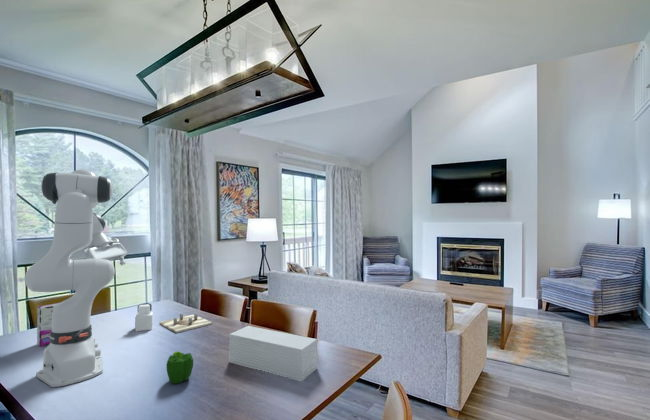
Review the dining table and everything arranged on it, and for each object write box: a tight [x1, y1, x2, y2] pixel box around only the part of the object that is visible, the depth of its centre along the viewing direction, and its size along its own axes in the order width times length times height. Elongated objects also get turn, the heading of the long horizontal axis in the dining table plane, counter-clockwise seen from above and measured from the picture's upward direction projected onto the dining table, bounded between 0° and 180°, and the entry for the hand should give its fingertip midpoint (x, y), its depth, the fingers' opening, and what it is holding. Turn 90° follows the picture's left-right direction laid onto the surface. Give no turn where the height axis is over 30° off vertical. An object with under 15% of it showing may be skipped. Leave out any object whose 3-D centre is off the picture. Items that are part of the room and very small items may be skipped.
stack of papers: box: [228, 325, 318, 382], centre depth 119 cm, size 32×11×11 cm, turn 63°
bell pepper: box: [166, 351, 194, 385], centre depth 108 cm, size 8×8×10 cm
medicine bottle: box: [134, 302, 154, 332], centre depth 159 cm, size 7×7×12 cm
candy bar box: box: [36, 302, 60, 348], centre depth 142 cm, size 11×5×16 cm, turn 143°
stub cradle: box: [159, 313, 213, 334], centre depth 166 cm, size 20×18×4 cm
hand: (116, 266), depth 160 cm, fingers open, 8 cm apart
